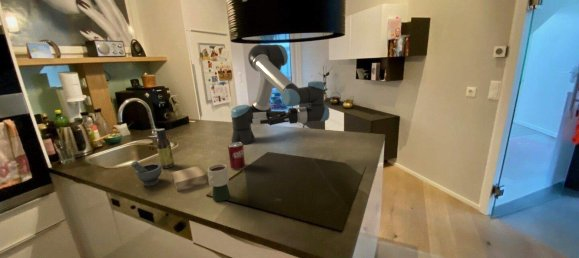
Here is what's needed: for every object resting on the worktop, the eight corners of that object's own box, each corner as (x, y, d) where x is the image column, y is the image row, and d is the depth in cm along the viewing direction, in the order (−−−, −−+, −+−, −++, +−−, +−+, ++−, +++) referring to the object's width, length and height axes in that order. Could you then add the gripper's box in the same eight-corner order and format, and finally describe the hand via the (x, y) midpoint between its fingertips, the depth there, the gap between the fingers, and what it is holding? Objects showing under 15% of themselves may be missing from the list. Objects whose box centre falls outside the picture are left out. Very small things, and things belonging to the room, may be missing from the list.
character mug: (222, 190, 98) (217, 160, 94) (237, 192, 95) (233, 162, 92) (204, 204, 88) (199, 172, 84) (221, 207, 85) (216, 175, 82)
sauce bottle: (175, 166, 122) (168, 129, 117) (161, 170, 119) (153, 132, 114) (173, 162, 128) (166, 127, 122) (160, 166, 124) (152, 129, 119)
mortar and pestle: (155, 175, 113) (150, 152, 110) (168, 179, 109) (163, 155, 106) (131, 186, 104) (124, 161, 101) (143, 191, 100) (137, 165, 96)
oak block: (200, 173, 114) (199, 165, 113) (206, 182, 104) (205, 174, 103) (173, 180, 108) (171, 172, 107) (177, 191, 98) (175, 182, 97)
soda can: (227, 167, 118) (224, 145, 115) (239, 162, 124) (237, 141, 120) (236, 171, 114) (233, 148, 110) (248, 166, 119) (246, 143, 115)
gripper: (301, 129, 105) (253, 133, 102) (293, 117, 128) (254, 120, 126) (301, 112, 102) (251, 116, 100) (293, 103, 126) (252, 106, 124)
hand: (252, 118), depth 113 cm, fingers open, 13 cm apart
